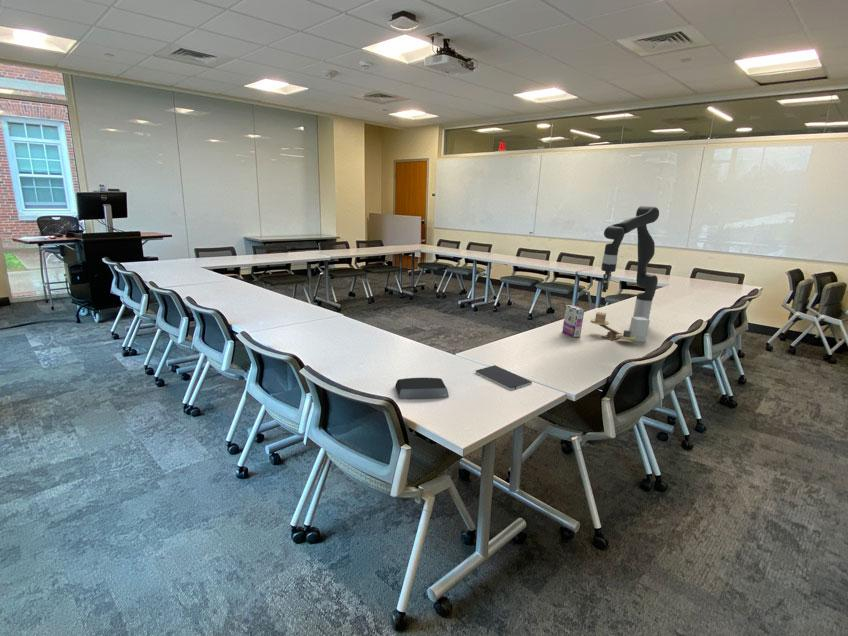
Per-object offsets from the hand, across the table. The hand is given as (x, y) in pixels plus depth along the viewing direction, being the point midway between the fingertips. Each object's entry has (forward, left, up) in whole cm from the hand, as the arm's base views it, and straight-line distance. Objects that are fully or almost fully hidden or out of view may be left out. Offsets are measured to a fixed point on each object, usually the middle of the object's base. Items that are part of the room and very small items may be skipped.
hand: (604, 290), depth 258 cm
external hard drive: (+129, -50, -26) cm, 140 cm away
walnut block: (0, 0, -18) cm, 18 cm away
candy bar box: (+12, -13, -26) cm, 32 cm away
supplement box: (-2, +21, -26) cm, 33 cm away
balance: (+4, +8, -26) cm, 27 cm away
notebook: (+97, -27, -27) cm, 104 cm away
